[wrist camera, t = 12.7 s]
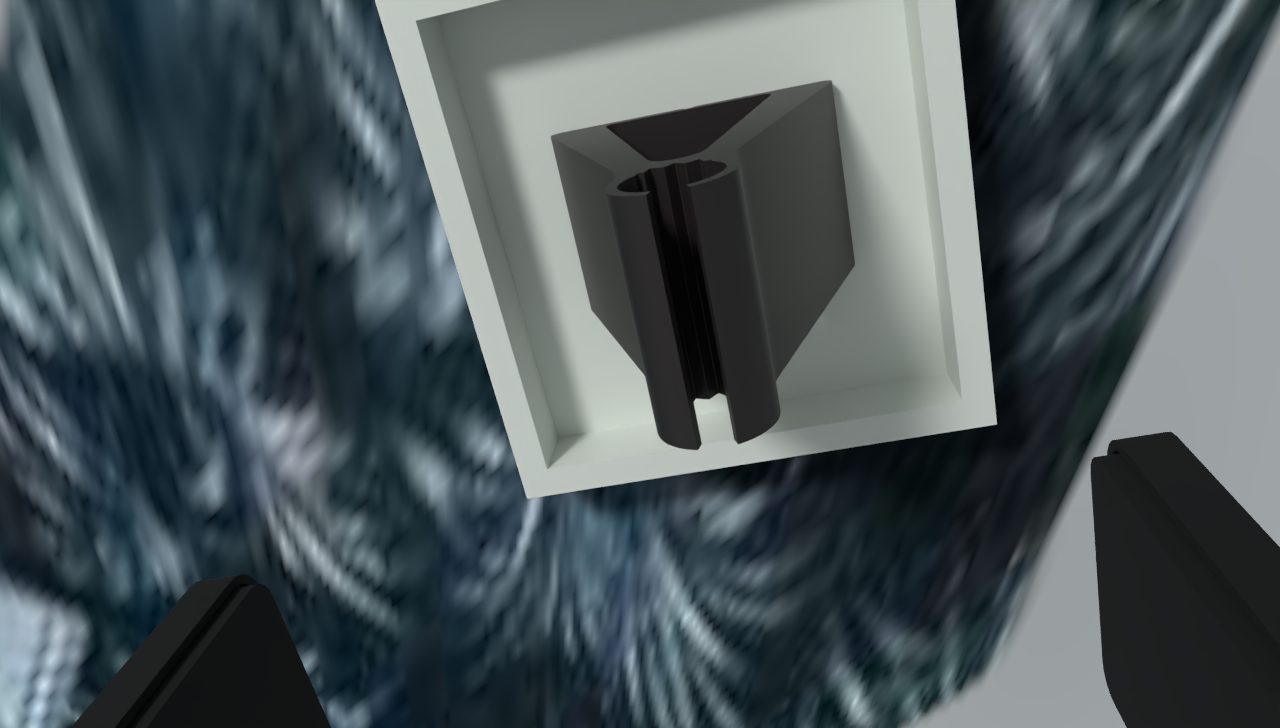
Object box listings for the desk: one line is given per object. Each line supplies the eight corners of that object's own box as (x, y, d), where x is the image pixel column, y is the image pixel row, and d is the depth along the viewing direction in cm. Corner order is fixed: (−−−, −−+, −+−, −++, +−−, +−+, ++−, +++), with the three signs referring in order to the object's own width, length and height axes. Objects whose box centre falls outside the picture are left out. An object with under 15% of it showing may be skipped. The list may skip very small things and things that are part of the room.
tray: (919, -140, 28) (940, -151, 25) (975, 386, 34) (996, 424, 31) (404, -11, 31) (372, -8, 28) (542, 458, 37) (527, 498, 34)
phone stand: (831, 79, 30) (893, 148, 19) (854, 262, 32) (920, 420, 21) (552, 132, 31) (458, 226, 20) (591, 305, 34) (525, 474, 23)
